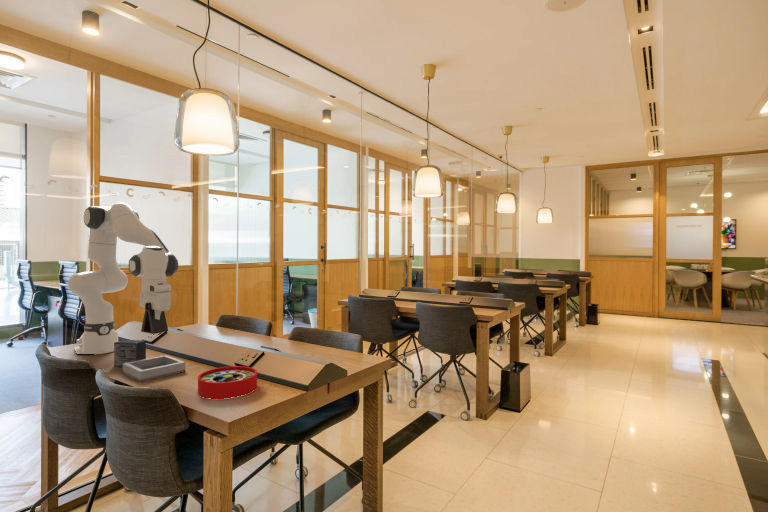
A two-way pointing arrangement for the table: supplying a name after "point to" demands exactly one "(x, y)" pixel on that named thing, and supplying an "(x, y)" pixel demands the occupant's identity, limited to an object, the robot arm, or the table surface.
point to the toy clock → (227, 382)
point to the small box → (129, 351)
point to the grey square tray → (153, 368)
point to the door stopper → (153, 321)
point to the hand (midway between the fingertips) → (154, 320)
